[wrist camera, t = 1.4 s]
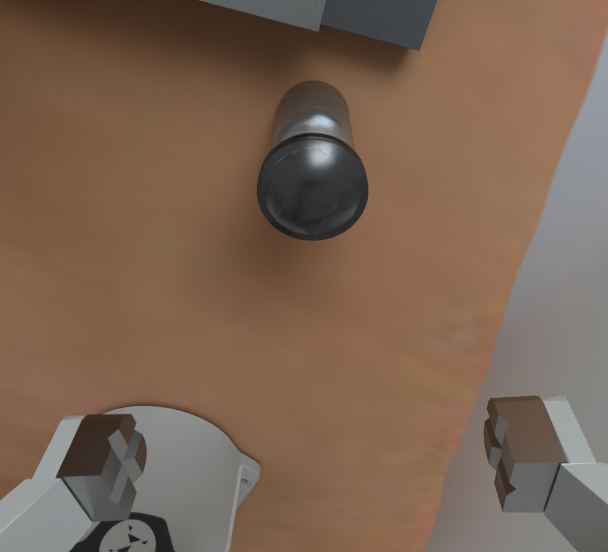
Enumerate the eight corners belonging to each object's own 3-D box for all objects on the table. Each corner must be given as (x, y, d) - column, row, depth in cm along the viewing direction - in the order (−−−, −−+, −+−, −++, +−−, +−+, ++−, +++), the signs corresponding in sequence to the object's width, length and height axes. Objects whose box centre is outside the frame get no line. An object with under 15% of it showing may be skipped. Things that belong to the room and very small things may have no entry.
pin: (341, 164, 30) (350, 249, 23) (264, 146, 29) (248, 228, 22) (364, 86, 27) (383, 155, 20) (281, 65, 27) (268, 128, 19)
